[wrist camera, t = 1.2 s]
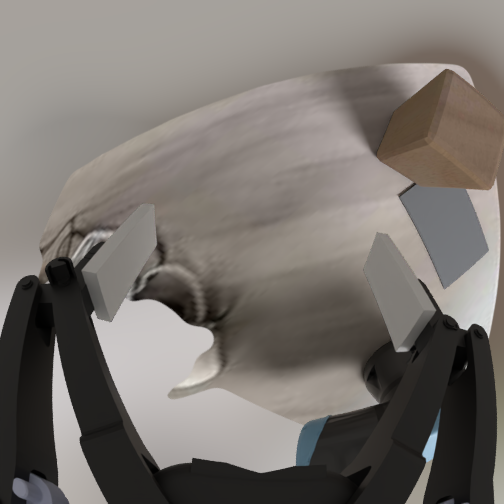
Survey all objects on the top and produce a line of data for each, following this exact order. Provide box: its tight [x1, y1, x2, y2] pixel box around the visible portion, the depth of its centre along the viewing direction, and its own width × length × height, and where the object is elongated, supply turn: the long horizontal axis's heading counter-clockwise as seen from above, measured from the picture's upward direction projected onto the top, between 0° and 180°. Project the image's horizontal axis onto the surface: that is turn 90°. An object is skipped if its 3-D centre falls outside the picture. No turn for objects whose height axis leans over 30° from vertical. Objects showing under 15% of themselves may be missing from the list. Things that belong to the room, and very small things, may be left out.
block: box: [377, 69, 504, 190], centre depth 27 cm, size 10×10×20 cm
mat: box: [399, 184, 489, 289], centre depth 38 cm, size 20×13×1 cm, turn 38°
